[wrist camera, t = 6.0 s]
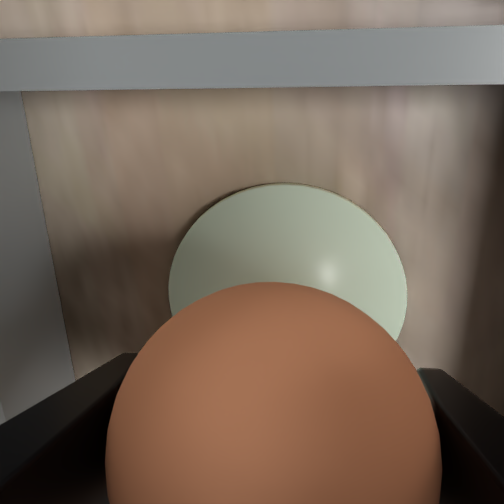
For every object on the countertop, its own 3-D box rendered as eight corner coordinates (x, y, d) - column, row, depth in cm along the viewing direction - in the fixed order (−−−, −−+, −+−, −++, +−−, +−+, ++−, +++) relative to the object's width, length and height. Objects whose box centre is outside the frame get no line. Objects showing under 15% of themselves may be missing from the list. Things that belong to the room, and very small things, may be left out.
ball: (417, 241, 8) (553, 449, 4) (392, 452, 10) (462, 768, 6) (152, 235, 9) (-15, 410, 4) (172, 436, 11) (70, 712, 6)
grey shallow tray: (647, 33, 9) (802, 16, 6) (525, 492, 13) (582, 602, 11) (-20, 49, 10) (-138, 42, 8) (65, 455, 15) (10, 543, 12)
